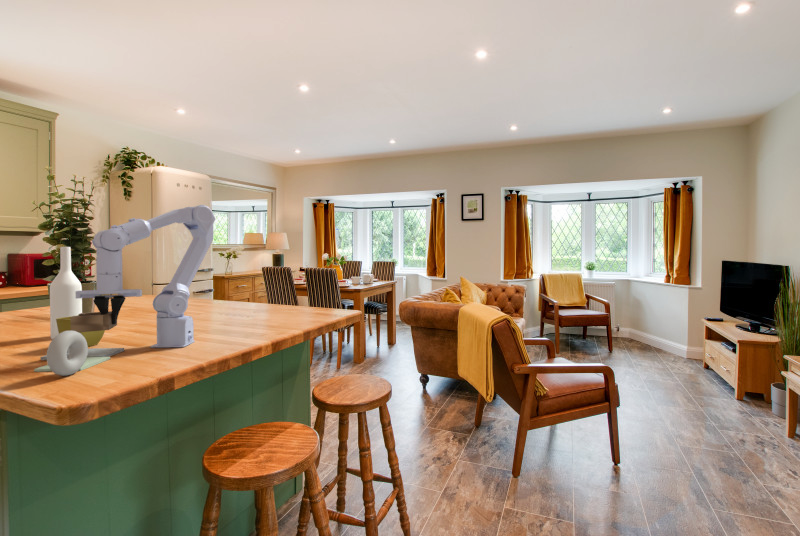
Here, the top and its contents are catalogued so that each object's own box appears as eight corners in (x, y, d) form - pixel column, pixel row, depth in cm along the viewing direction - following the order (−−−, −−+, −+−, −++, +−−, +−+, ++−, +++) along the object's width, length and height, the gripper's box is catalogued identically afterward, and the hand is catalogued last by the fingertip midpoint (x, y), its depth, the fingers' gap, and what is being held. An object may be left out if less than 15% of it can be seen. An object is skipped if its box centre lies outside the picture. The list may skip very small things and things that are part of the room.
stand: (124, 350, 114) (124, 335, 114) (102, 359, 104) (102, 342, 104) (67, 351, 113) (67, 336, 112) (40, 360, 103) (40, 343, 103)
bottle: (56, 341, 126) (54, 246, 126) (46, 338, 131) (44, 246, 130) (86, 337, 133) (85, 247, 133) (76, 335, 137) (75, 247, 137)
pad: (110, 359, 104) (110, 356, 104) (80, 370, 93) (80, 368, 93) (69, 359, 103) (69, 357, 103) (34, 371, 92) (34, 369, 92)
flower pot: (80, 350, 114) (79, 319, 114) (55, 349, 116) (54, 318, 116) (108, 344, 123) (108, 315, 122) (84, 343, 124) (84, 314, 124)
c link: (117, 325, 113) (116, 310, 113) (109, 330, 105) (108, 314, 105) (82, 327, 110) (81, 313, 110) (71, 332, 102) (70, 317, 102)
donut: (76, 369, 95) (75, 327, 95) (91, 368, 95) (91, 326, 95) (42, 382, 85) (41, 334, 85) (59, 381, 85) (58, 334, 85)
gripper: (143, 273, 115) (144, 320, 115) (81, 273, 109) (82, 323, 110) (138, 274, 109) (139, 323, 109) (72, 274, 103) (73, 327, 103)
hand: (110, 324), depth 109 cm, fingers closed on c link
